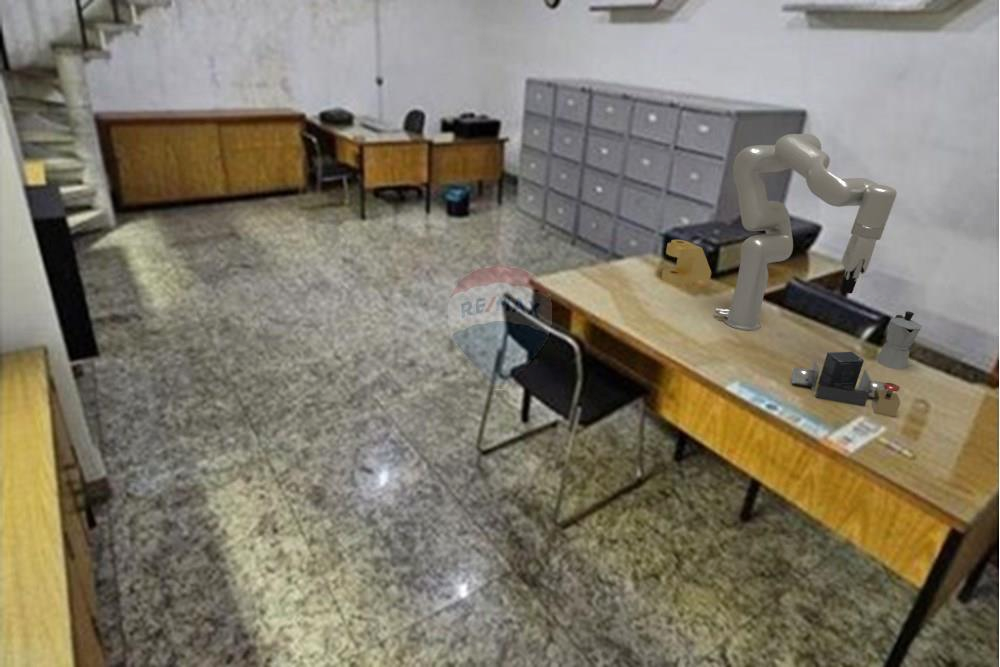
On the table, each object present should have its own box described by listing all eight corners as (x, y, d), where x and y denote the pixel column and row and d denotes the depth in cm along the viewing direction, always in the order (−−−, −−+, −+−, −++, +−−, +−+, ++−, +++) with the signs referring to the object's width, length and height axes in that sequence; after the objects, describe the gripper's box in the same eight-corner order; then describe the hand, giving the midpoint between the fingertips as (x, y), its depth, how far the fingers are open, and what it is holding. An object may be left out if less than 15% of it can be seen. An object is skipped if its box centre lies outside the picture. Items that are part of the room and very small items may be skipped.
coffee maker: (911, 377, 192) (932, 323, 184) (879, 371, 194) (899, 317, 186) (899, 356, 205) (918, 304, 197) (869, 351, 207) (887, 300, 199)
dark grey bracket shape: (794, 393, 178) (800, 373, 175) (789, 377, 187) (795, 358, 184) (887, 411, 172) (894, 390, 170) (878, 393, 181) (885, 373, 178)
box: (841, 383, 185) (852, 351, 181) (853, 393, 180) (865, 360, 176) (816, 383, 184) (827, 351, 180) (828, 394, 179) (839, 361, 175)
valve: (873, 413, 171) (883, 388, 167) (870, 404, 175) (880, 379, 172) (894, 418, 169) (904, 392, 166) (891, 409, 174) (900, 383, 170)
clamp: (671, 285, 251) (678, 246, 245) (656, 277, 259) (663, 239, 252) (709, 280, 260) (717, 242, 253) (694, 272, 267) (702, 235, 260)
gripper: (847, 221, 182) (827, 280, 191) (857, 236, 170) (835, 298, 178) (876, 225, 181) (854, 285, 189) (888, 241, 168) (864, 304, 176)
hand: (845, 291), depth 184 cm, fingers closed
